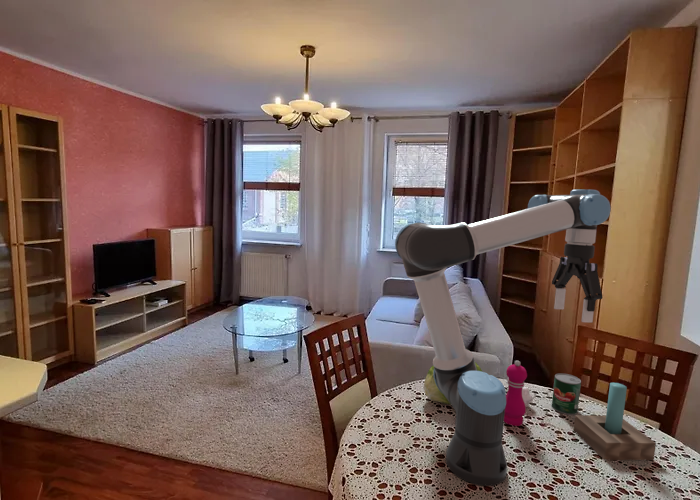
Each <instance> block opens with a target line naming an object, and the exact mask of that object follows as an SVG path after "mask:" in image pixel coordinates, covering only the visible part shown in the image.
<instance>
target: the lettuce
mask: <svg viewBox="0 0 700 500" xmlns="http://www.w3.org/2000/svg"><path fill="white" fill-rule="evenodd" d="M475 365H476V368H477V371H481V372H484V371H483V370H482V368H481V367H480V366H479V364H477V362H476V361H475ZM433 371H434V366H433V365H432V366H431V367H430V368H429V370H428V371H427V372H426V377H425V379H424V382H423V391H424V393H425V395H426V397H427V399H429V400H431V401H432V402H439V403H442V404H445V405H451V404H450V402H449V401H448V400H447V398H446V397H445V396H444V394H443V393H441V391H440V390H439V389H438V387H437V385H436V383H435V380H434V376H433Z"/></svg>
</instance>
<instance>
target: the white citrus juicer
mask: <svg viewBox="0 0 700 500" xmlns="http://www.w3.org/2000/svg"><path fill="white" fill-rule="evenodd" d="M522 398H523V400H524V403H525V407H526V408H527V407H528V406H529V405H530V403H531V402H532V401H533V395H532V394H531V393H530V389H529V388H528V387H527V386H525V385H524V387H523V388H522Z"/></svg>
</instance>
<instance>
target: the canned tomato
mask: <svg viewBox="0 0 700 500" xmlns="http://www.w3.org/2000/svg"><path fill="white" fill-rule="evenodd" d="M553 381H554V383H553V389H552V399H551V408H552V409H553V410H554V411H555V412H558V413H560V414H563V415H568V416H573V415H574V416H575V415H578V412H579V411H578V410H579V402H580V393H581V387H582V380H581V379H580V378H578V377H577V376H575V375H572V374H568V373H556V374H555V375H554V380H553Z"/></svg>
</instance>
